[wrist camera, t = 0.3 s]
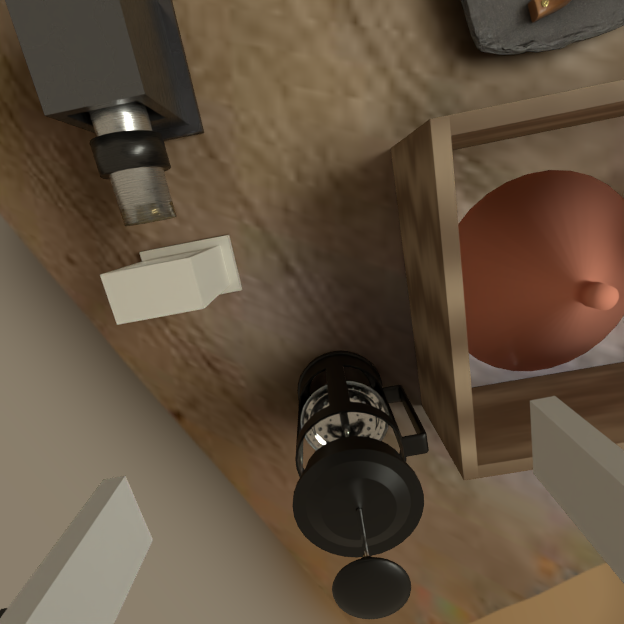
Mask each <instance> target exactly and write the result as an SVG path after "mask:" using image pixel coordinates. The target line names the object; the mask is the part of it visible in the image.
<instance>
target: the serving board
mask: <svg viewBox="0 0 624 624" xmlns="http://www.w3.org/2000/svg"><path fill="white" fill-rule="evenodd" d="M461 3H462V6H463V10H464V14H465V18H466V21H467V24H468V27H469V30H470V34H471V37H472V39H473V41H474V43H475V45H476V47H477V48H478V49H479V50H480V51H481V52H486V53H492V54H500V55H511V54H521V53H524V52H543V51H549V50H555V49H560V48H564V47H565V46H567V45H569V44H570V43H574V42H578V41H582V40H586V39H589V38H592V37H595V36H599V35H601V34H604V33H607V32H610V31H612V30H615V29H617V28H619V27H621V26H623V25H624V0H461Z"/></svg>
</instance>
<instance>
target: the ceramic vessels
mask: <svg viewBox="0 0 624 624" xmlns="http://www.w3.org/2000/svg"><path fill="white" fill-rule="evenodd" d="M458 229H459V241H460V253H461V266H462V278H463V290H464V303H465V315H466V328H467V340H468V352H469V353H470V354H471V355H472V356H474V357H475V358H477V359H478V360H480V361H482V362H484V363H487V364H489V365H491V366H494V367H497V368H502V369H506V370H511V371H535V370H541V369H548V368H552V367H555V366H558V365H561V364H564V363H567V362H569V361H571V360H573V359H575V358H577V357H579V356H580V355H582V354H584V353H586V352H587V351H589V350H590V349H591V348H593V347H594V346H595V345H597V344H598V343H599V342H601V341H602V340H603V339H604V338H605V337H606V336H607V335H608V334H609V333H610V332H611V331H612V330H613V329H614V328H615V327H616V326H617V324H618V323H619V321H620V320H621V318H622V317H623V315H624V199H623V198H622V197H621V196H620V195H619V194H618V193H617V192H616V191H614V190H613V189H612V188H611V187H610V186H609V185H607V184H605V183H603V182H601V181H600V180H598V179H596V178H594V177H592V176H589V175H585V174H581V173H577V172H573V171H559V170H548V171H542V172H537V173H531V174H527V175H524V176H521V177H519V178H516V179H514V180H511V181H509V182H506V183H505V184H503V185H501V186H500V187H498V188H496V189H495V190H493V191H492V192H490V193H488V194H487V195H486V196H485V197H483V198H482V199H481V200H480V201H479V202H478V203H477V204H476V205H474V206H473V207H472V208H471V209H470V210H469V211H468V213H467V214H466V215H465V217H464V218H463V219H462V220H461V222H460V223H459V224H458Z"/></svg>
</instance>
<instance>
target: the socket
mask: <svg viewBox="0 0 624 624" xmlns="http://www.w3.org/2000/svg"><path fill="white" fill-rule="evenodd" d="M139 253H140V256H141V259H142V262H139V263H136V264H132V265H129V266H126V267H123V268H120V269H117V270H113V271H110V272H107V273H104V274H101V275H100V277H101V280H102V282H103V285H104V288H105V291H106V294H107V297H108V300H109V303H110V306H111V309H112V311H113V314H114V317H115V320H116V323H117V325H118V324H124V323H129V322H135V321H140V320H145V319H151V318H156V317H162V316H167V315H172V314H178V313H183V312H189V311H194V310H199V309H204V308H205V307H206V306H208V305H209V304H210V303H211V302H212V301H213V300H214V299H215V298H216V297H217V296H218V295H219V294H224V293H229V292H235V291H240V290H242V286H241V281H240V277H239V273H238V269H237V265H236V261H235V257H234V253H233V249H232V245H231V240H230V236H229V235H225V236H220V237H215V238H210V239H205V240H200V241H194V242H189V243H184V244H179V245H174V246H169V247H164V248H158V249H153V250H148V251H143V252H139Z"/></svg>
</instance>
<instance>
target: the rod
mask: <svg viewBox="0 0 624 624" xmlns="http://www.w3.org/2000/svg"><path fill="white" fill-rule="evenodd" d="M89 114H90V117H91V120H92V123H93V126H94V130H95V133H96V136H97V137H95V138H93V139H92V140H91V141H90V146H91V149H92V152H93V155H94V158H95V161H96V164H97V168H98V171H99V174H100V177H101V178H104V179H110V180H111V183H112V187H113V190H114V193H115V196H116V199H117V202H118V206H119V209H120V212H121V215H122V218H123V221H124V225H125V226H131V225H138V224H144V223H150V222H155V221H160V220H165V219H170V218H174V217H176V213H175V210H174V206H173V202H172V199H171V195H170V192H169V188H168V184H167V181H166V177H165V174H164V171H167V170H169V169H170V168H171V166H170V163H169V159H168V155H167V152H166V148H165V144H164V141H163V137H162V134H161V133H159V132H155V131H153V130H152V127H151V123H150V120H149V116H148V112H147V109H146V105H144V104H143V103H141V102H140V101H134V102H129V103H124V104H120V105H115V106H110V107H106V108H101V109H96V110H92V111H89Z"/></svg>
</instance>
